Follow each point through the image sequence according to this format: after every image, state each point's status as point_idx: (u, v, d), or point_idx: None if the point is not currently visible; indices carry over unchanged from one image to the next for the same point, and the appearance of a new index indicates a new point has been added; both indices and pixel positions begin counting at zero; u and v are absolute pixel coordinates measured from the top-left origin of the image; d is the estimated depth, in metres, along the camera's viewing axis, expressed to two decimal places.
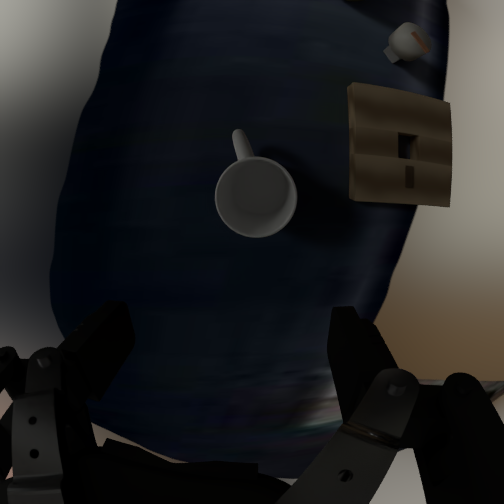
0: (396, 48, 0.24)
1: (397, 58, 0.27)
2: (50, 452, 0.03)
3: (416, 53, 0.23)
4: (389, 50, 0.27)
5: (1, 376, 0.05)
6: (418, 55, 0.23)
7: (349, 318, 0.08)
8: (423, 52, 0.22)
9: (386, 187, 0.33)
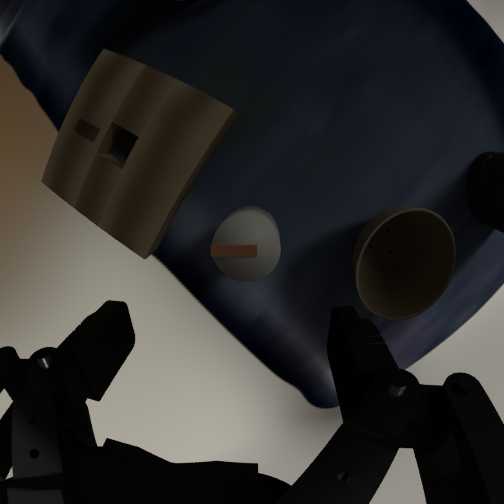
0: (247, 208, 0.21)
1: None
2: (51, 452, 0.03)
3: None
4: None
5: (1, 376, 0.05)
6: None
7: (349, 318, 0.08)
8: (213, 241, 0.19)
9: (92, 92, 0.20)
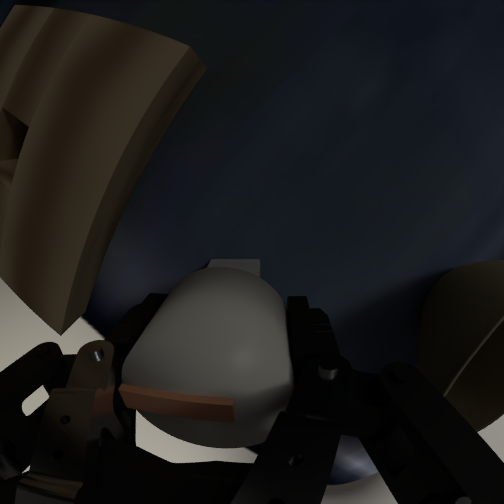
0: (211, 283, 0.08)
1: None
2: (76, 457, 0.03)
3: None
4: None
5: (38, 374, 0.05)
6: None
7: (298, 306, 0.09)
8: (125, 378, 0.06)
9: None
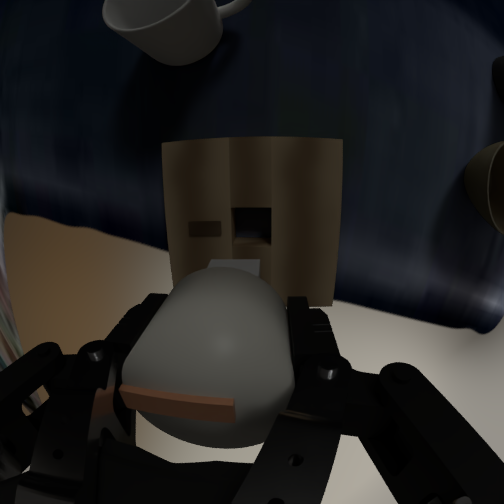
0: (212, 283, 0.08)
1: None
2: (76, 457, 0.03)
3: None
4: None
5: (38, 374, 0.05)
6: None
7: (298, 306, 0.09)
8: (125, 379, 0.06)
9: (185, 190, 0.24)
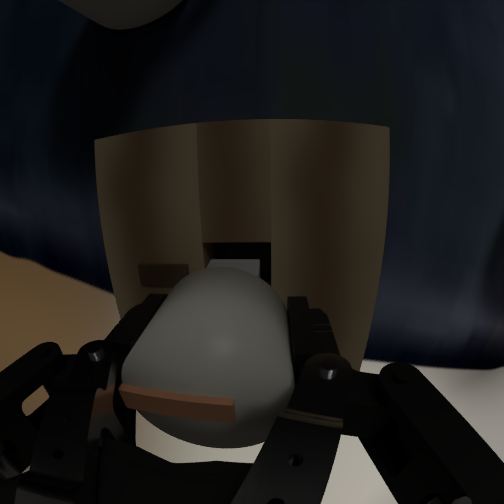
0: (211, 283, 0.08)
1: None
2: (76, 456, 0.03)
3: (134, 345, 0.07)
4: None
5: (38, 374, 0.05)
6: None
7: (298, 306, 0.09)
8: (125, 378, 0.06)
9: (130, 215, 0.14)
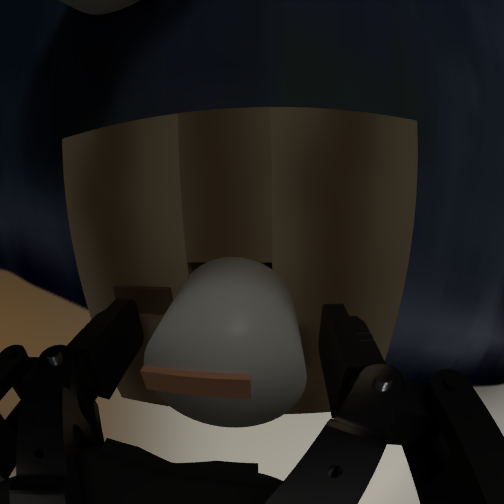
0: (226, 271, 0.09)
1: None
2: (56, 452, 0.03)
3: (157, 327, 0.07)
4: None
5: (9, 375, 0.05)
6: None
7: (338, 315, 0.09)
8: (147, 360, 0.07)
9: (101, 228, 0.11)
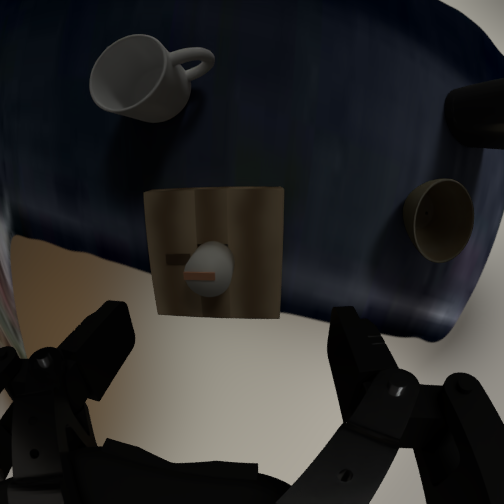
0: (210, 244, 0.29)
1: None
2: (51, 452, 0.03)
3: (189, 259, 0.28)
4: None
5: (1, 376, 0.05)
6: None
7: (349, 318, 0.08)
8: (185, 269, 0.27)
9: (162, 230, 0.31)
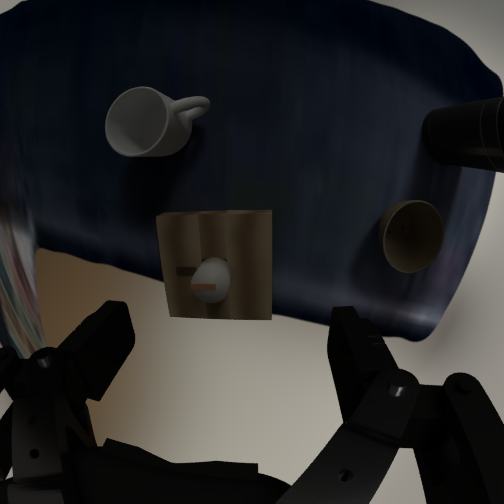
0: (211, 260, 0.36)
1: None
2: (50, 452, 0.03)
3: None
4: None
5: (1, 376, 0.05)
6: None
7: (349, 318, 0.08)
8: (192, 281, 0.34)
9: (172, 247, 0.38)
